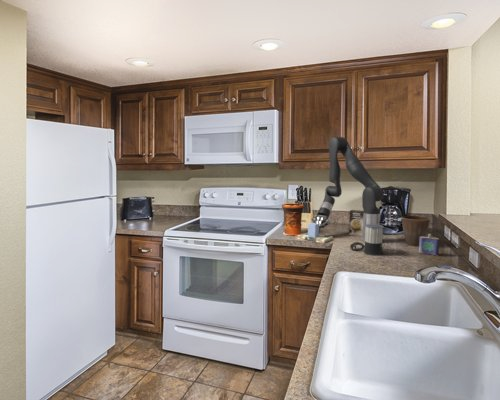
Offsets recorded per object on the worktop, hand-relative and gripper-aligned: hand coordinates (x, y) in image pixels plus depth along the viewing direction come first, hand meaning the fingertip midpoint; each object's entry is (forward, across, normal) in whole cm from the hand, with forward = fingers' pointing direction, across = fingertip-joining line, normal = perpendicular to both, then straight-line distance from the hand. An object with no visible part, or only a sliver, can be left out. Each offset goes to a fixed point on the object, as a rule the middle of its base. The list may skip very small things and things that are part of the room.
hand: (315, 232), depth 215 cm
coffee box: (-17, +15, +24) cm, 33 cm away
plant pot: (-12, +52, +19) cm, 57 cm away
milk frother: (+11, +36, -5) cm, 38 cm away
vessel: (0, -20, +7) cm, 21 cm away
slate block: (+4, 0, 0) cm, 4 cm away
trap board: (+4, 0, +2) cm, 4 cm away
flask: (0, +63, +6) cm, 63 cm away
